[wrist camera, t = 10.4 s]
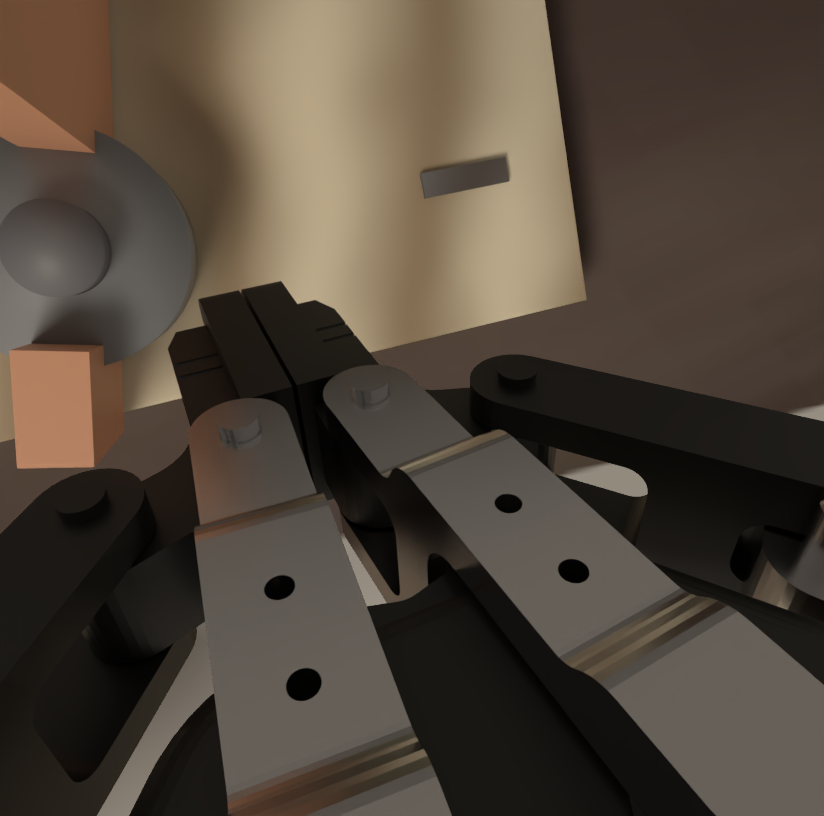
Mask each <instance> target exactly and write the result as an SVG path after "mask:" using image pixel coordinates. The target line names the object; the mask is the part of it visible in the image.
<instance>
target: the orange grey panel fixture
mask: <svg viewBox="0 0 824 816" xmlns="http://www.w3.org/2000/svg"><path fill="white" fill-rule="evenodd" d="M197 259H198V258H197V246H196V241H195V236H194V231H193V228H192V225H191V223H190V220H189V217H188V215H187V213H186V211H185V209H184V207H183V205H182V203H181V202H180V200H179V199H178V197H177V196H176V194H175V193H174V191H173V190H172V189H171V188H170V187H169V185H168V184H167V183H166V182H165V181H164V180H163V179H162V177H161V176H160V175H159V174H158V173H157V172H156V171H155V170H154V169H153V168H152V167H151V166H149V165H148V164H147V163H146V162H145V161H144V160H143V159H142V158H141V157H140V156H139V155H137V154H136V153H135V152H133V151H132V150H131V149H129V148H128V147H126V146H125V145H124V144H122V143H120V142H118V141H117V140H115V139H113V112H112V84H111V57H110V29H109V1H108V0H0V352H1V353H3V354H5V355H8V356H9V357H10V371H11V386H12V400H13V415H14V429H15V444H16V458H17V468H70V467H95V466H96V465H97V463H98V462H99V461H100V460H101V459H102V457H103V456H104V455H105V454H106V453H107V451H108V450H109V449H110V448H111V447H112V445H113V444H114V443H115V442H116V441H117V439H118V438H119V437H120V436H121V435H122V434H123V432H124V415H123V387H122V359H125V358H127V357H129V356H131V355H133V354H135V353H136V352H138V351H140V350H141V349H143V348H144V347H146V346H147V345H149V344H150V343H152V342H154V341H155V340H157V339H158V338H159V337H160V336H161V335H163V334H164V333H165V332H166V331H167V330H168V329H169V328H170V327H171V326H172V325H173V324H174V323H175V322H176V321H177V319H178V318H179V316H180V315H181V314H182V312H183V311H184V309H185V307H186V305H187V303H188V301H189V299H190V297H191V294H192V291H193V288H194V284H195V279H196V274H197Z"/></svg>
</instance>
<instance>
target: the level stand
mask: <svg viewBox="0 0 824 816" xmlns="http://www.w3.org/2000/svg"><path fill="white" fill-rule="evenodd" d="M108 1H109V29H110V57H111V84H112V112H113V139H115V140H117V141H118V142H120V143H122V144H124V145H125V146H126V147H128V148H129V149H131V150H132V151H133V152H135V153H136V154H137V155H139V156H140V157H141V158H142V159H143V160H144V161H145V162H146V163H147V164H148V165H149V166H151V167H152V168H153V169H154V170H155V171H156V172H157V173H158V174H159V175H160V176H161V177H162V179H163V180H164V181H165V182H166V183H167V184H168V185H169V187H170V188H171V189H172V190H173V191H174V193H175V194H176V196H177V197H178V199H179V200H180V202H181V203H182V205H183V207H184V209H185V211H186V213H187V215H188V217H189V220H190V223H191V225H192V228H193V231H194V236H195V241H196V246H197V258H198V259H197V274H196V279H195V284H194V288H193V291H192V294H191V297H190V299H189V301H188V303H187V305H186V307H185V309H184V311H183V312H182V314H181V315H180V316H179V318H178V319H177V321H176V322H175V323H174V324H173V325H172V326H171V327H170V328H169V329H168V330H167V331H166V332H165V333H164V334H163V335H161V336H160V337H159V338H158V339H157V340H155V341H154V342H152V343H150V344H149V345H147V346H146V347H144V348H143V349H141V350H140V351H138V352H136V353H135V354H133V355H131V356H129V357H127V358H125V359H122V387H123V412H126V411H130V410H134V409H139V408H143V407H147V406H151V405H155V404H159V403H163V402H167V401H172V400H176V399H180V398H182V396H181V393H180V389H179V386H178V382H177V379H176V375H175V372H174V369H173V365H172V362H171V358H170V355H169V352H168V347H169V345H170V343H171V341H172V339H173V337H174V335H175V333H176V332H178V331H183V330H187V329H192V328H196V327H200V326H204V323H203V319H202V316H201V312H200V307H199V302H198V299H200V298H205V297H210V296H214V295H219V294H223V293H228V292H233V291H237V290H239V291H240V293H241V290H242V289H246V288H251V287H255V286H260V285H264V284H269V283H274V282H278V281H281V282H282V283H283V284H284V286H285V287H286V288H287V290H288V291H289V293H290V294H291V296H292V297H293V298H294V300H295V301H296V303H297V304H300V303H304V302H308V301H313V300H316V301H318V302H321V303H323V304H325V305H327V306H329V307H332V308H334V309H335V310H336V311H337V312H338V314H339V315H340V316H341V317H342V319H343V320H344V321H345V324H346V325H348V326H349V328H350V329H351V330H352V331H353V333H354V336H355V335H356V336H357V338H358V339H359V340H360V341H361V343H362V344H363V345H364V347H365V348H366V349H367V350H368V352H374V351H378V350H382V349H386V348H390V347H394V346H398V345H402V344H407V343H411V342H415V341H419V340H423V339H427V338H431V337H435V336H440V335H444V334H448V333H452V332H456V331H460V330H464V329H468V328H473V327H477V326H481V325H485V324H489V323H493V322H497V321H501V320H506V319H510V318H514V317H518V316H522V315H526V314H530V313H534V312H538V311H543V310H547V309H551V308H555V307H559V306H563V305H567V304H571V303H576V302H580V301H584V300H586V293H585V286H584V278H583V271H582V264H581V257H580V250H579V242H578V235H577V228H576V221H575V214H574V207H573V199H572V192H571V185H570V178H569V171H568V164H567V156H566V149H565V142H564V135H563V128H562V120H561V113H560V106H559V99H558V92H557V85H556V77H555V70H554V63H553V56H552V49H551V42H550V34H549V27H548V20H547V13H546V6H545V0H108ZM11 439H15V429H14V415H13V400H12V386H11V371H10V357H9V356H8V355H5V354H3V353H1V352H0V442H2V441H7V440H11Z"/></svg>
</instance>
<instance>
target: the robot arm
mask: <svg viewBox="0 0 824 816" xmlns="http://www.w3.org/2000/svg"><path fill="white" fill-rule="evenodd" d="M198 302H199V307H200V312H201V316H202V319H203V323H204V326H200V327H196V328H192V329H187V330H183V331H178V332H176V333H175V335H174V337H173V339H172V341H171V343H170V345H169V347H168V352H169V355H170V358H171V362H172V365H173V369H174V372H175V375H176V379H177V382H178V386H179V389H180V393H181V396H182V399H183V403H184V406H185V410H186V413H187V416H188V420H189V423H190V430H189V433H188V440H189V445H188V447H187V448H186V450H185V451H184V452H183V454H182V455H181V456H180V457H179V458H178V459H177V460H176V461H175V462H174V463H172V464H171V465H170V466H168V467H167V468H165V469H164V470H162V471H160V472H159V473H157V474H155V475H153V476H151V477H149V478H147V479H145V480H144V481H142V482H141V481H140V479H139V478H138V477H137V476H135V475H134V474H132V473H130V472H127V471H124V470H120V469H110V468H109V469H96V470H90V471H86V472H82V473H79V474H76V475H73V476H70V477H68V478H66V479H64V480H62V481H60V482H58V483H56V484H55V485H53V486H51V487H50V488H48V489H47V490H46V491H44V492H43V493H42V494H41V495H39V496H38V497H37V498H36V499H35V500H34V501H33V502H32V503H31V504H30V505H29V506H28V507H27V508H26V509H25V510H24V511H23V512H22V513H21V514H20V515H19V516H18V517H17V518H16V519H15V520H14V521H13V522H12V523H11V524H10V525H9V526H8V527H7V528H6V529H5V530H4V531H3V532H2V533H1V534H0V816H97V814H98V812H99V811H100V809H101V807H102V805H103V804H104V802H105V800H106V799H107V797H108V795H109V793H110V792H111V790H112V788H113V786H114V784H115V783H116V781H117V779H118V778H119V776H120V774H121V773H122V771H123V769H124V767H125V765H126V764H127V762H128V760H129V758H130V757H131V755H132V753H133V752H134V750H135V748H136V746H137V745H138V743H139V741H140V739H141V738H142V736H143V734H144V732H145V731H146V729H147V727H148V725H149V724H150V722H151V720H152V718H153V717H154V715H155V713H156V712H157V710H158V708H159V706H160V705H161V703H162V701H163V699H164V698H165V696H166V694H167V692H168V691H169V689H170V687H171V685H172V684H173V682H174V680H175V678H176V677H177V675H178V673H179V671H180V670H181V668H182V666H183V665H184V663H185V661H186V659H187V658H188V656H189V654H190V652H191V650H192V648H193V646H194V644H195V640H196V634H197V629H196V627H198V626H199V625H200V624H202V623H203V622H205V624H206V632H207V640H208V648H209V656H210V664H211V672H212V680H213V688H214V694H212V695H211V696H210V697H209V698H208V699H207V700H206V701H205V702H204V703H203V704H202V705H201V706H200V707H199V708H198V709H197V710H196V711H195V712H194V713H193V714H192V715H191V716H190V717H189V718H188V719H187V721H186V722H185V723H184V724H183V726H182V727H181V728H180V729H179V731H178V732H177V733H176V734H175V735H174V737H173V738H172V740H171V741H170V743H169V744H168V746H167V747H166V749H165V750H164V752H163V753H162V755H161V756H160V758H159V760H158V761H157V763H156V764H155V766H154V768H153V770H152V772H151V774H150V775H149V777H148V779H147V781H146V783H145V785H144V787H143V789H142V791H141V793H140V795H139V797H138V799H137V801H136V803H135V805H134V807H133V809H132V811H131V813H130V815H129V816H824V421H819V420H815V419H810V418H806V417H801V416H797V415H792V414H788V413H783V412H779V411H774V410H770V409H765V408H761V407H756V406H752V405H748V404H743V403H739V402H734V401H730V400H725V399H721V398H716V397H712V396H707V395H703V394H698V393H694V392H689V391H685V390H680V389H676V388H671V387H667V386H662V385H658V384H653V383H649V382H644V381H640V380H635V379H631V378H626V377H622V376H617V375H613V374H608V373H604V372H599V371H595V370H590V369H586V368H581V367H577V366H572V365H568V364H563V363H559V362H554V361H550V360H545V359H541V358H536V357H532V356H526V355H501V356H496V357H493V358H489V359H487V360H485V361H483V362H481V363H480V364H478V365H477V366H476V367H475V368H474V369H473V371H472V372H471V376H470V388H460V389H447V390H424V389H423V388H422V387H421V386H420V385H419V384H418V383H417V382H416V381H415V380H414V379H413V378H412V377H411V376H410V375H409V374H407V373H406V372H404V371H402V370H400V369H397V368H395V367H390V366H384V365H379V364H378V363H377V362H376V360H375V359H374V358H373V357H372V355H371V354H370V353H369V352H368V350H367V349H366V348H365V347H364V345H363V344H362V343H361V341H360V340H359V339H358V338H357V336H356V335H355V336H354V333H353V331H352V330H351V329H350V328H349V326H348V325H346V324H345V321H344V320H343V319H342V317H341V316H340V315H339V314H338V312H337V311H336V310H335V309H334V308H332V307H329V306H327V305H325V304H323V303H321V302H318V301H316V300H313V301H308V302H304V303H300V304H297V303H296V301H295V300H294V298H293V297H292V296H291V294H290V293H289V291H288V290H287V288H286V287H285V286H284V284H283V283H282V282H281V281H278V282H274V283H269V284H264V285H260V286H255V287H251V288H246V289H242V290H241V293H240V291H239V290H237V291H233V292H228V293H223V294H219V295H214V296H210V297H205V298H200V299H198ZM556 448H557V449H561V450H565V451H568V452H572V453H575V454H579V455H583V456H586V457H590V458H594V459H597V460H601V461H604V462H608V463H612V464H615V465H619V466H623V467H626V468H629V469H631V470H633V471H635V472H636V473H638V474H639V475H640V476H641V477H642V478H643V479H644V481H645V483H646V485H647V488H648V494H647V495H645V496H641V497H632V496H627V495H624V494H620V493H617V492H614V491H610V490H607V489H604V488H600V487H596V486H593V485H590V484H586V483H583V482H579V481H576V480H572V479H569V478H566V477H563V476H559V475H556V474H553V471H554V463H555V454H556ZM331 499H335V500H336V502H337V504H338V506H339V510H340V517H341V523H342V529H343V533H344V535H345V537H346V539H347V540H348V542H349V543H350V545H351V547H352V548H353V550H354V551H355V553H356V554H357V556H358V558H359V559H360V561H361V562H362V564H363V565H364V567H365V569H366V570H367V572H368V574H369V575H370V577H371V578H372V580H373V581H374V583H375V585H376V586H377V588H378V589H379V591H380V593H381V594H382V595H383V597H384V599H385V601H386V602H387V603H386V604H380V605H374V606H366V603H365V601H364V598H363V595H362V593H361V590H360V587H359V585H358V582H357V579H356V577H355V574H354V572H353V569H352V566H351V563H350V561H349V558H348V555H347V553H346V550H345V547H344V544H343V542H342V539H341V536H340V534H339V531H338V528H337V526H336V523H335V520H334V518H333V515H332V512H331V510H330V507H329V504H328V502H327V501H328V500H331Z"/></svg>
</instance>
